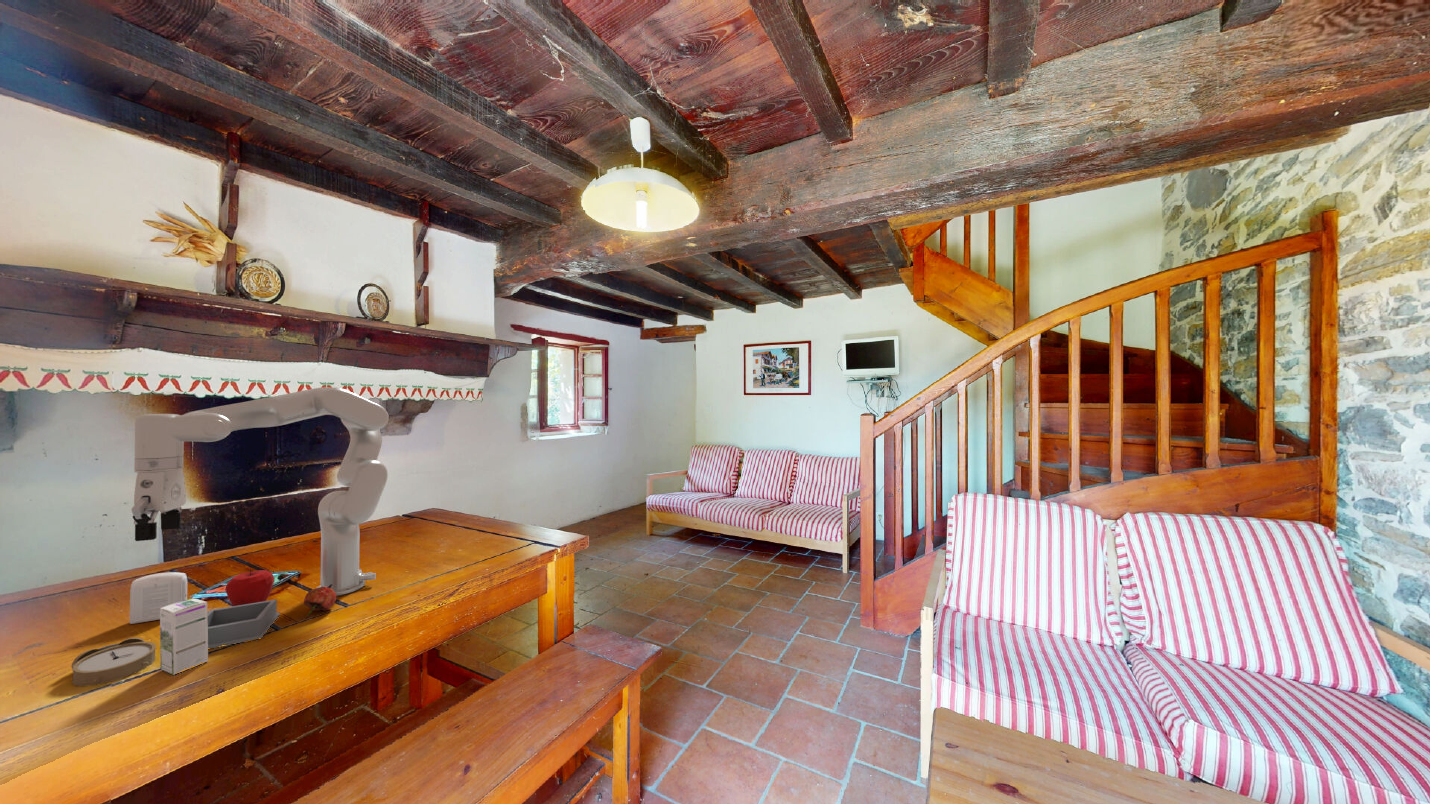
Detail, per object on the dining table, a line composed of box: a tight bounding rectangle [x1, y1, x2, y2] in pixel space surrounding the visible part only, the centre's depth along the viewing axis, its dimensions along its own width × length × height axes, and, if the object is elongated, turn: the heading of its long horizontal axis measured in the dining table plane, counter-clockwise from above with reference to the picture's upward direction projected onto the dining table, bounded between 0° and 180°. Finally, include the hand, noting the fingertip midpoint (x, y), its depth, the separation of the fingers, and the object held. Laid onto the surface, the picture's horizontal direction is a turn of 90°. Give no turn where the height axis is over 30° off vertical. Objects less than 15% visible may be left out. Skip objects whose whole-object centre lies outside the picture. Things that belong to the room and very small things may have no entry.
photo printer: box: [129, 571, 188, 625], centre depth 124 cm, size 10×4×12 cm, turn 123°
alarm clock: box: [71, 637, 157, 687], centre depth 101 cm, size 11×5×15 cm
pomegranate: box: [303, 584, 337, 616], centre depth 129 cm, size 7×7×10 cm
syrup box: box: [159, 597, 209, 676], centre depth 102 cm, size 6×6×14 cm
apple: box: [224, 569, 275, 606], centre depth 131 cm, size 10×10×11 cm
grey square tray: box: [207, 599, 281, 649], centre depth 116 cm, size 14×14×5 cm
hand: (158, 534), depth 109 cm, fingers open, 9 cm apart
